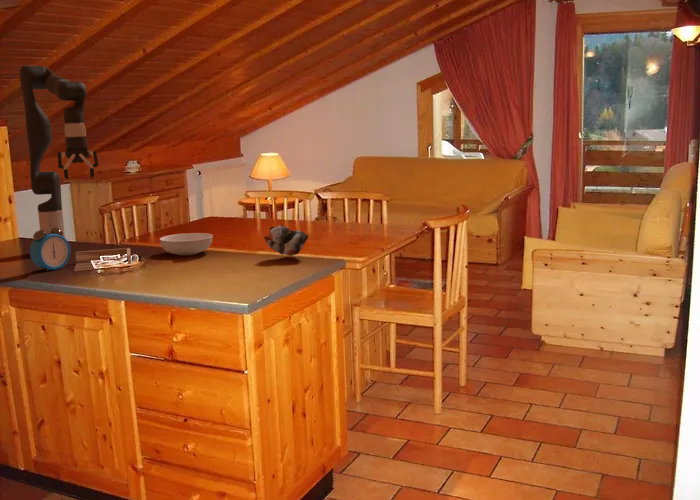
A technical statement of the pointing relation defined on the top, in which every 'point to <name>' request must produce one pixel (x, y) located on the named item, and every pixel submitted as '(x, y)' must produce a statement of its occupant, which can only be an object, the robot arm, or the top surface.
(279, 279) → the top surface
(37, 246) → the alarm clock
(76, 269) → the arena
